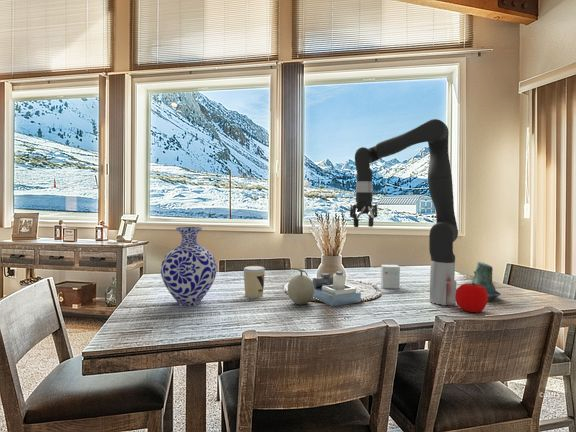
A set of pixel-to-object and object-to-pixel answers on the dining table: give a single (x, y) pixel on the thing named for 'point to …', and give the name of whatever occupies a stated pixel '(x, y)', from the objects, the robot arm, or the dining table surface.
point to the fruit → (300, 288)
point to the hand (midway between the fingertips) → (363, 226)
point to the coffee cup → (254, 281)
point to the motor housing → (334, 292)
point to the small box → (390, 276)
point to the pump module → (338, 281)
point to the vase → (188, 269)
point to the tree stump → (485, 279)
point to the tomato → (471, 297)
